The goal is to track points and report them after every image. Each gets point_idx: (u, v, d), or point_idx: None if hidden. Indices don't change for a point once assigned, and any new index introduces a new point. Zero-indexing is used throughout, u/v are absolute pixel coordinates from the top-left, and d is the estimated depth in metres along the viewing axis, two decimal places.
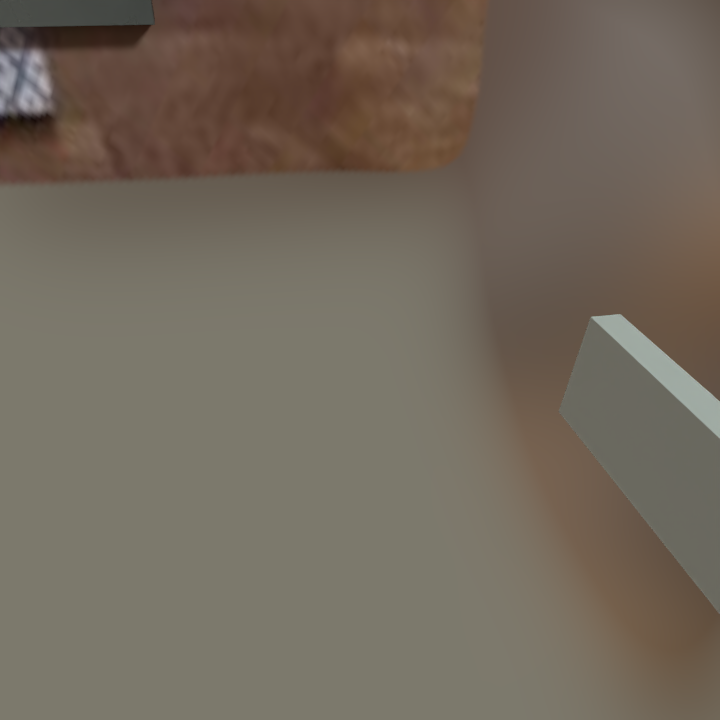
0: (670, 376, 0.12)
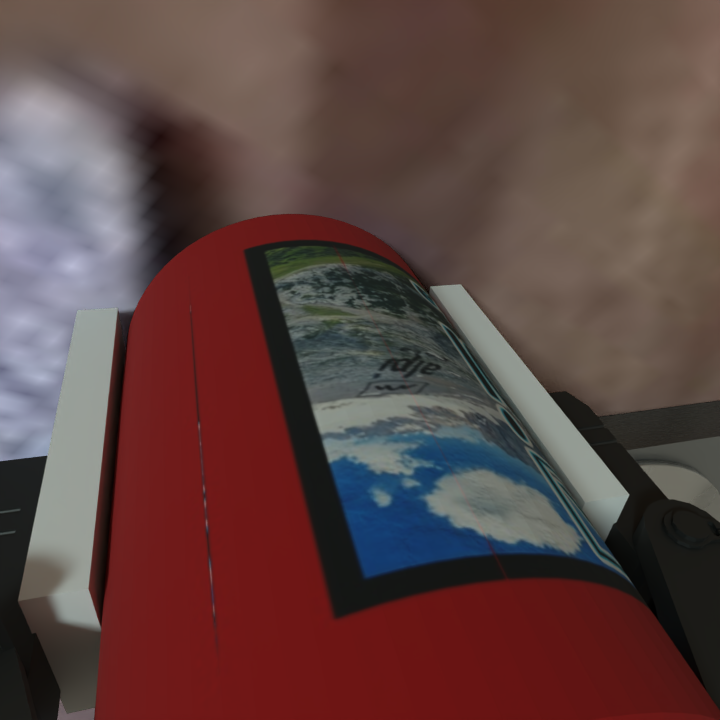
0: (484, 339, 0.12)
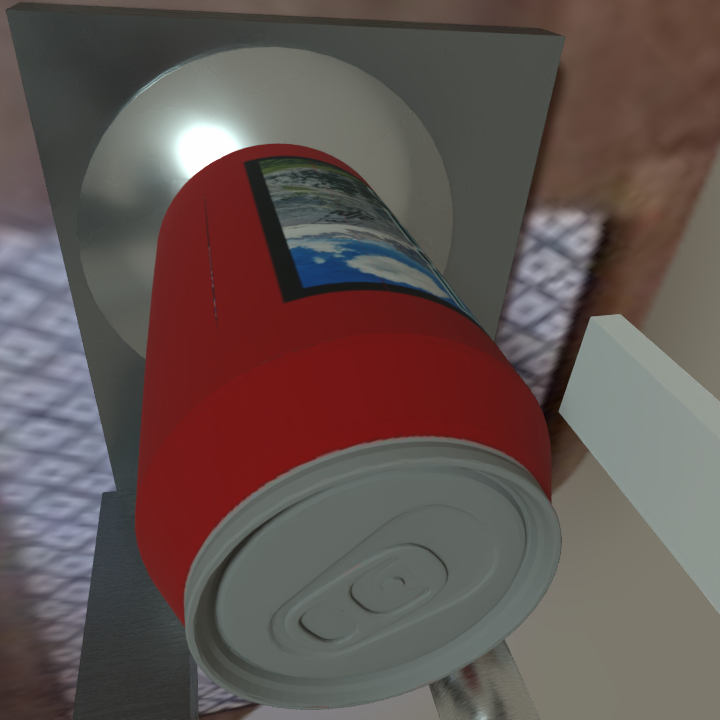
0: (670, 376, 0.12)
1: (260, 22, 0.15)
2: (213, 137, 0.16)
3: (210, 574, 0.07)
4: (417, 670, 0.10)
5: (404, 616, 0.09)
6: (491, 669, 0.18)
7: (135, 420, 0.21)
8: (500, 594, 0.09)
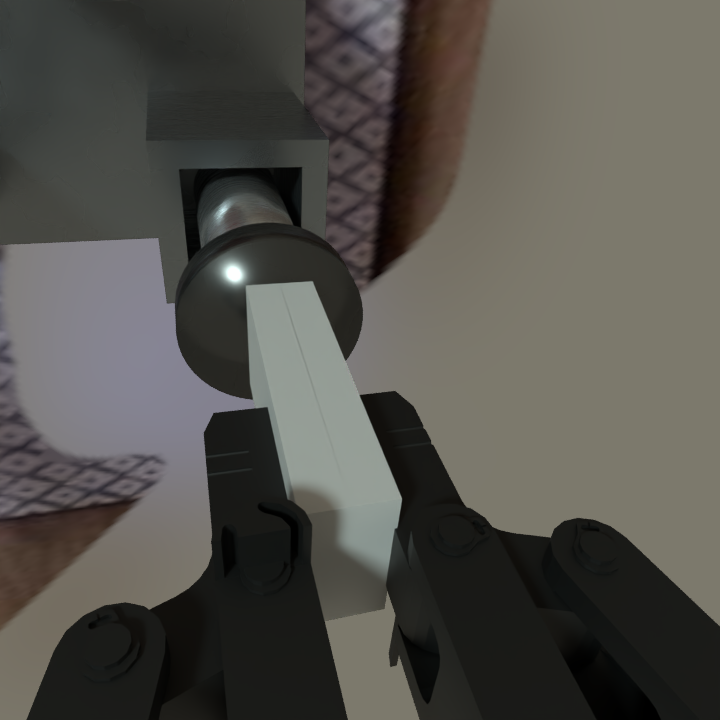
0: (313, 337, 0.12)
1: None
2: None
3: None
4: None
5: None
6: (254, 206, 0.17)
7: None
8: None
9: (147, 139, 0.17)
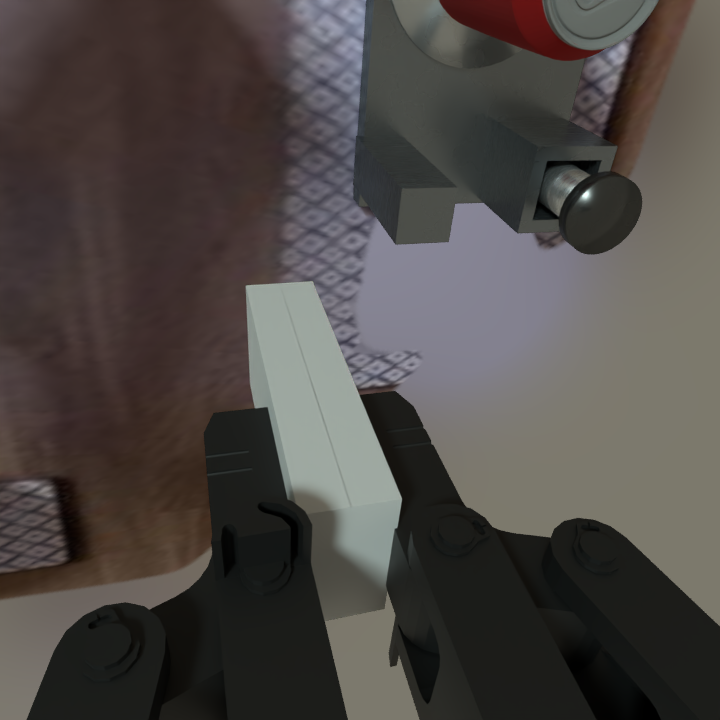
0: (314, 337, 0.12)
1: None
2: None
3: None
4: (608, 40, 0.25)
5: None
6: (574, 167, 0.35)
7: (386, 78, 0.36)
8: None
9: (537, 146, 0.34)
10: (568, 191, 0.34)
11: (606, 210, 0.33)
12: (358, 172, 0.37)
